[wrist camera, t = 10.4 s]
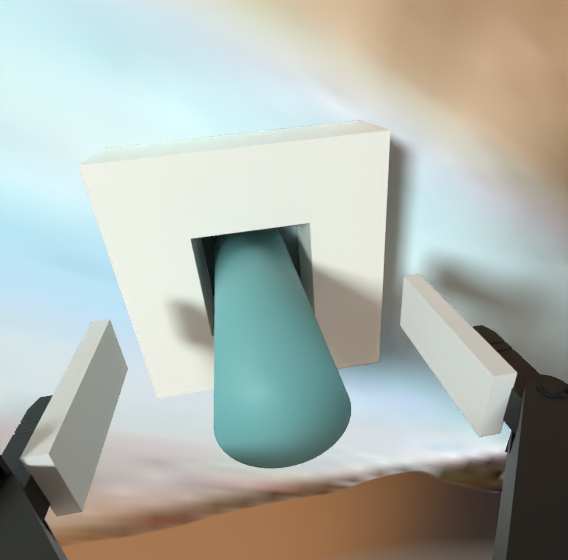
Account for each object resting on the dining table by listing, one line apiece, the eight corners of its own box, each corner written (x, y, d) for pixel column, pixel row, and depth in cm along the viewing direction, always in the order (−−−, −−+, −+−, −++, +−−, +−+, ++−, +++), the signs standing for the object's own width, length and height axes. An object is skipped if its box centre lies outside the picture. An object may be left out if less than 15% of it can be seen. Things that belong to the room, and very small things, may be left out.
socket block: (359, 119, 22) (390, 130, 18) (357, 322, 28) (379, 362, 24) (105, 147, 20) (78, 165, 16) (166, 351, 27) (157, 398, 23)
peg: (280, 212, 24) (350, 356, 11) (286, 274, 26) (351, 454, 13) (209, 221, 23) (201, 382, 11) (221, 284, 25) (225, 479, 13)
